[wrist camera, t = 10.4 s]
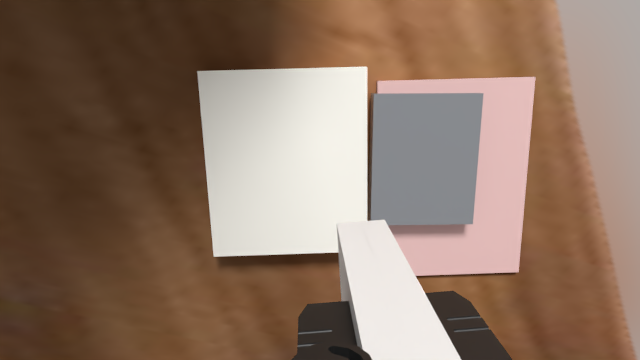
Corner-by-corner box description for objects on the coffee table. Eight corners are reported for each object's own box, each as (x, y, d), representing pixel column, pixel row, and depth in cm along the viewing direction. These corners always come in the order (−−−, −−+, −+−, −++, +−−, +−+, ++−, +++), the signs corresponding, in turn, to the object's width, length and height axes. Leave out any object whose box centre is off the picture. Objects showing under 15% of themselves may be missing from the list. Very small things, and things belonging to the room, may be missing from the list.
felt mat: (376, 81, 32) (377, 81, 31) (532, 76, 32) (535, 76, 31) (375, 275, 35) (376, 277, 35) (516, 270, 35) (518, 272, 35)
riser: (204, 72, 31) (197, 71, 29) (363, 67, 31) (367, 66, 29) (219, 247, 34) (213, 256, 32) (364, 242, 34) (367, 251, 32)
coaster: (370, 93, 31) (373, 93, 30) (475, 92, 32) (483, 93, 30) (367, 219, 34) (370, 225, 32) (465, 218, 34) (472, 224, 32)
